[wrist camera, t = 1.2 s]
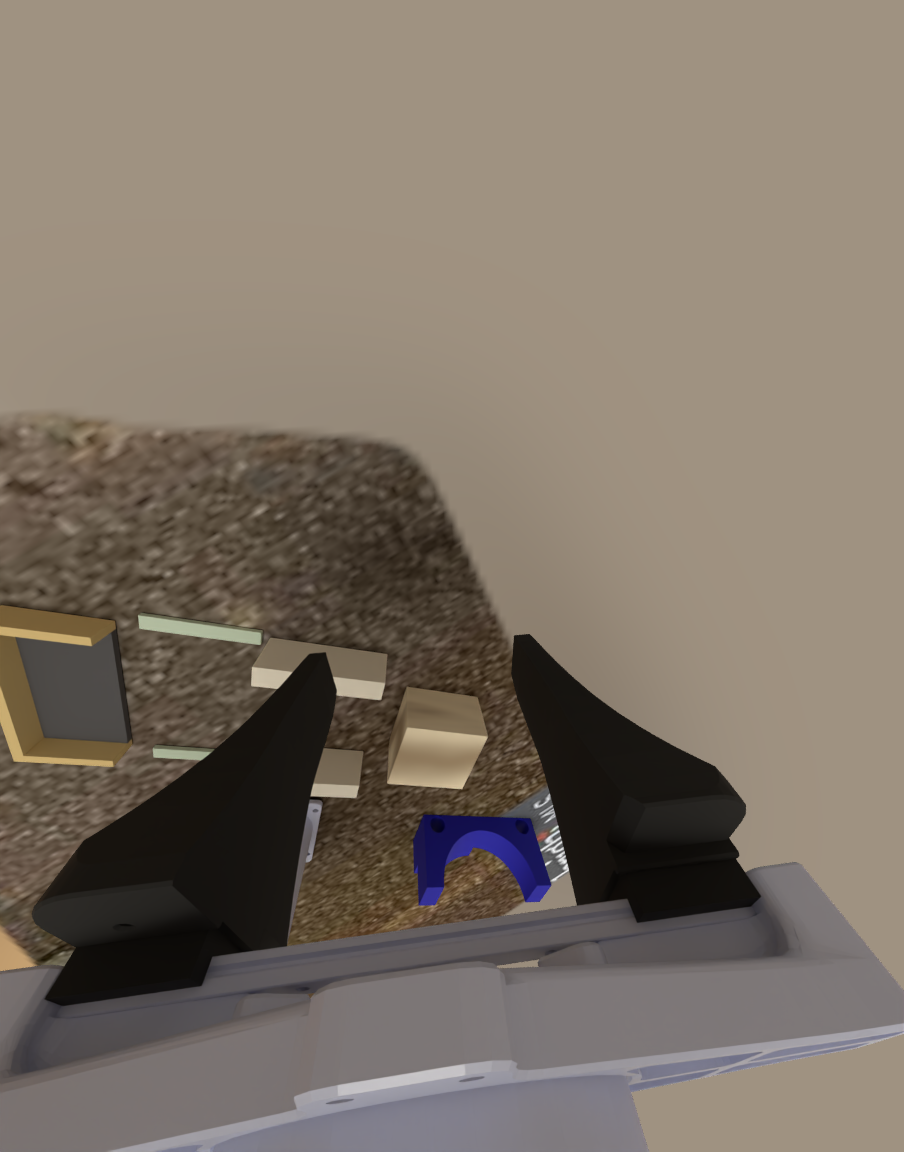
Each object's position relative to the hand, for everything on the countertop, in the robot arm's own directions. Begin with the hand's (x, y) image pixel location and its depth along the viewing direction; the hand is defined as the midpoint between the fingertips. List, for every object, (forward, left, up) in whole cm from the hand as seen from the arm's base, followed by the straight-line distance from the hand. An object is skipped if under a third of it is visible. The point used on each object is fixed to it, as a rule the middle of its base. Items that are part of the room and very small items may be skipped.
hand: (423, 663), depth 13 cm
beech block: (-14, -5, -10) cm, 17 cm away
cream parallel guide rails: (-14, +4, -10) cm, 17 cm away
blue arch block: (-29, -13, -10) cm, 33 cm away
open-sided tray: (-14, +20, -10) cm, 26 cm away
